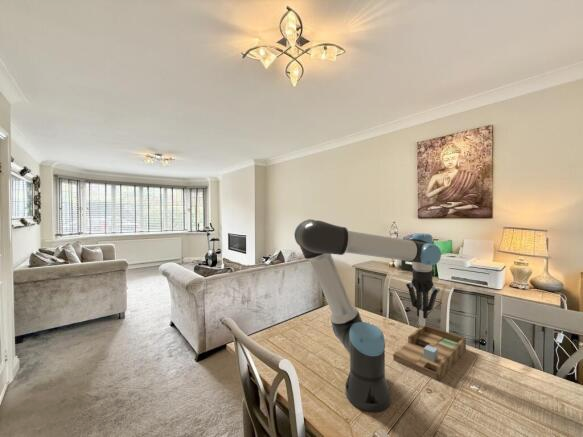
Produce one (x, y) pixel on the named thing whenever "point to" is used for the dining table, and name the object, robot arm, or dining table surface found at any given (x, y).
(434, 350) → the block
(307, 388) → the dining table surface
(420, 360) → the box
